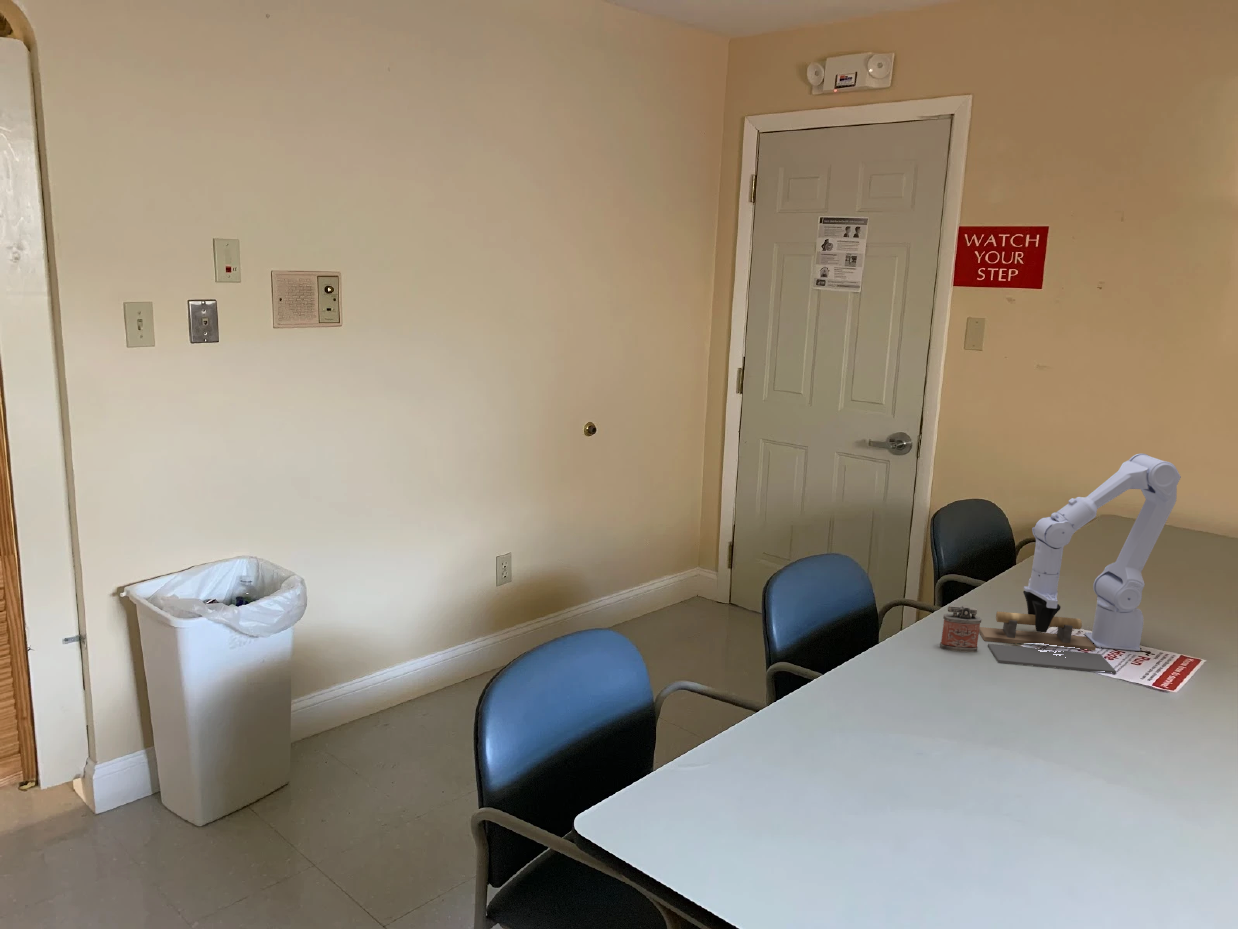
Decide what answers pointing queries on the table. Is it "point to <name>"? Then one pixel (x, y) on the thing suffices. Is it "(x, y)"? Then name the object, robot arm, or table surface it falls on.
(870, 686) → the table surface
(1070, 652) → the mat
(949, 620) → the lighter
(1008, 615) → the rail
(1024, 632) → the hook stand
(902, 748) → the table surface
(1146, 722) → the table surface
